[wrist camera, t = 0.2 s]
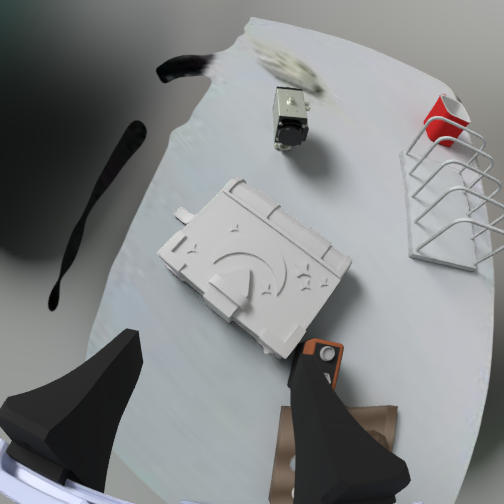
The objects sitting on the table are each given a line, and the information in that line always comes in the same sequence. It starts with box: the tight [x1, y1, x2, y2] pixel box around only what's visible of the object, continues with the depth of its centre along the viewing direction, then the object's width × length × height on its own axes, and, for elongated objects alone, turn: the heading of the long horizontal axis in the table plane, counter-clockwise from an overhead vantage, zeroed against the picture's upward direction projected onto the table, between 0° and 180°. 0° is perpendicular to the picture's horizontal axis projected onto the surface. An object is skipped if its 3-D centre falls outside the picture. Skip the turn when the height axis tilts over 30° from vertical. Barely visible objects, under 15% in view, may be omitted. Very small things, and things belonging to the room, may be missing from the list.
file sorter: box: [400, 116, 504, 271], centre depth 47 cm, size 25×17×16 cm
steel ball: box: [289, 455, 295, 472], centre depth 33 cm, size 3×3×3 cm
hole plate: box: [269, 405, 398, 504], centre depth 36 cm, size 16×18×2 cm
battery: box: [287, 338, 344, 390], centre depth 37 cm, size 4×7×10 cm, turn 165°
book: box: [157, 176, 352, 359], centre depth 44 cm, size 19×28×8 cm
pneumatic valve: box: [273, 87, 310, 151], centre depth 51 cm, size 6×12×12 cm, turn 179°
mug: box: [424, 94, 471, 147], centre depth 60 cm, size 12×8×11 cm
